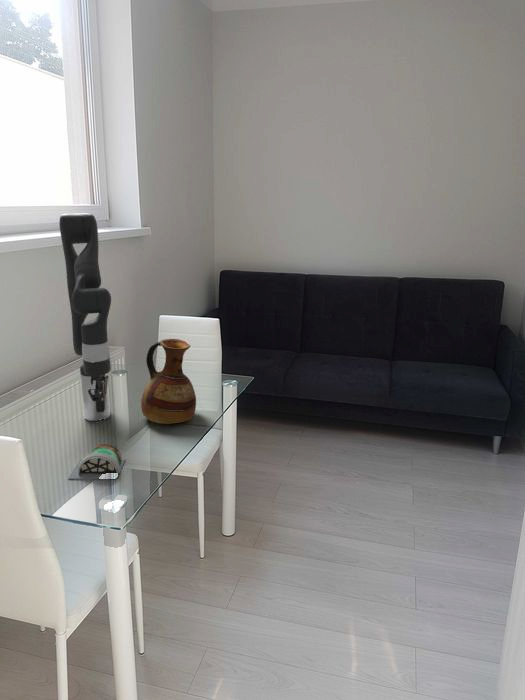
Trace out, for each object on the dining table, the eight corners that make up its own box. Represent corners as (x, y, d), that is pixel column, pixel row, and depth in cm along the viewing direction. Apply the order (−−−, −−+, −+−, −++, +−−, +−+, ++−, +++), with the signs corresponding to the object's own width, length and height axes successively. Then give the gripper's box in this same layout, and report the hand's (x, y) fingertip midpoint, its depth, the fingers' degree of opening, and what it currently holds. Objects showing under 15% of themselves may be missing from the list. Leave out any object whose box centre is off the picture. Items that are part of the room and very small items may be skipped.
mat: (80, 460, 164) (79, 459, 163) (125, 460, 164) (125, 459, 164) (68, 479, 153) (67, 478, 153) (116, 479, 153) (116, 478, 153)
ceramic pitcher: (186, 432, 183) (183, 350, 175) (132, 427, 187) (127, 346, 179) (203, 410, 202) (202, 335, 193) (154, 406, 206) (150, 332, 197)
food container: (125, 440, 163) (117, 455, 153) (126, 458, 165) (119, 474, 155) (84, 440, 162) (75, 456, 153) (86, 458, 164) (76, 475, 155)
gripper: (89, 349, 159) (94, 402, 164) (76, 363, 146) (81, 420, 151) (114, 349, 159) (118, 402, 164) (103, 364, 146) (107, 420, 152)
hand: (100, 411), depth 158 cm, fingers closed
